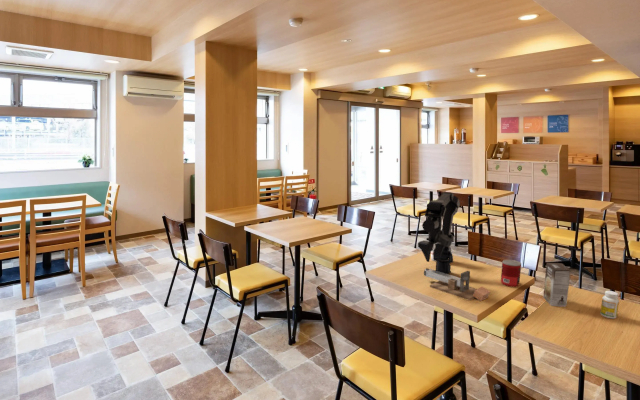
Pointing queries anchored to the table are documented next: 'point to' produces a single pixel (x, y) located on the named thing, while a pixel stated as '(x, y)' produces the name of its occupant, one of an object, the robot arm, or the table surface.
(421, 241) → the robot arm
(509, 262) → the canned food
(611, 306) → the supplement bottle
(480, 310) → the table surface
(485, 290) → the block
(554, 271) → the coffee box
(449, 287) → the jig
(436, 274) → the shaft
